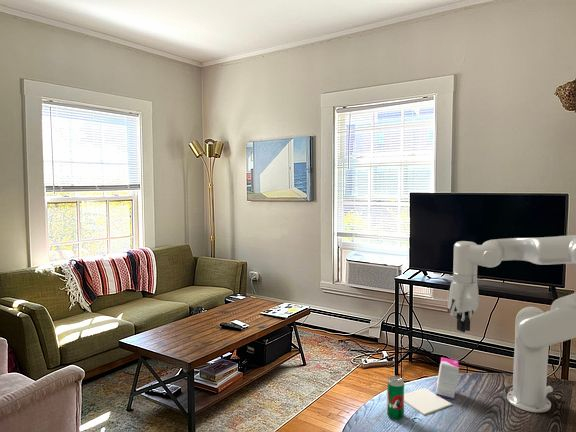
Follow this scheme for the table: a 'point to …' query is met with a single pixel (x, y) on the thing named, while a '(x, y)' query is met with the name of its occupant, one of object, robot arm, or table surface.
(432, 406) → the mat
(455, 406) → the table surface
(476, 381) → the table surface
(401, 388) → the soda can
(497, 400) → the table surface
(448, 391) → the supplement box
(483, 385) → the table surface
